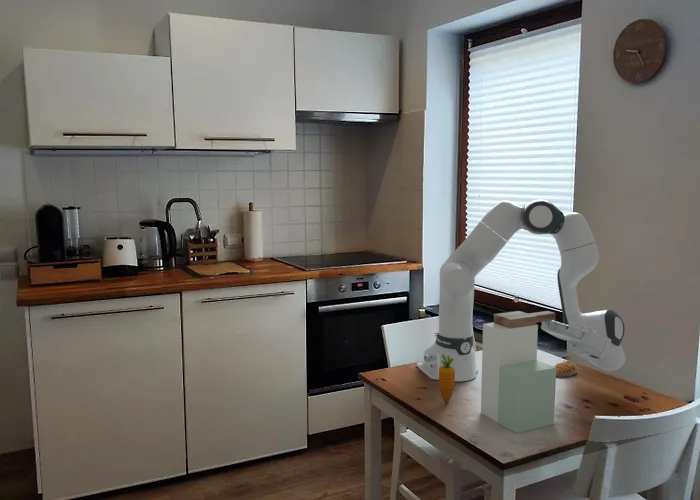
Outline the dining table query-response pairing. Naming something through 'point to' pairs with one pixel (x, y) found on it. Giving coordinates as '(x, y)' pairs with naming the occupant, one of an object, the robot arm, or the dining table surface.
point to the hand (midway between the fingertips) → (555, 323)
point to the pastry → (565, 369)
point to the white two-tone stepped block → (516, 379)
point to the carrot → (446, 379)
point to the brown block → (522, 318)
